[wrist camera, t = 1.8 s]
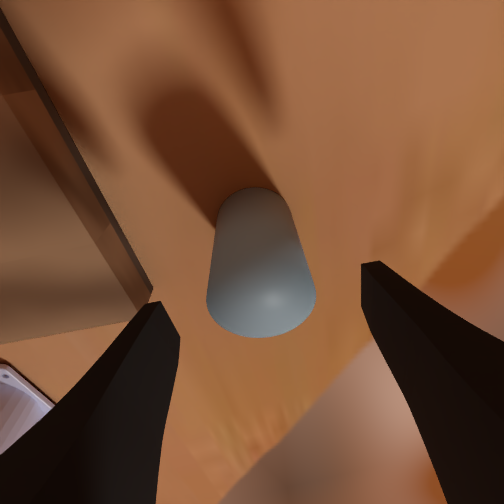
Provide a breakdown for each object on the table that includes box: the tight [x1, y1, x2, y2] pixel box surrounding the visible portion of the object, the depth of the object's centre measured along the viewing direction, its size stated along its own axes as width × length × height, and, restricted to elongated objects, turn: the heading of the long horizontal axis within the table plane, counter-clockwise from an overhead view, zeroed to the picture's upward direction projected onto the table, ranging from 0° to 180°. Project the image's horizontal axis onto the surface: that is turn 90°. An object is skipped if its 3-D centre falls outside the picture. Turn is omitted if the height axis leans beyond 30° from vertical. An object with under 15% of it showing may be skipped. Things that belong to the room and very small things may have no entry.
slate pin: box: [206, 187, 316, 338], centre depth 13 cm, size 4×4×6 cm
